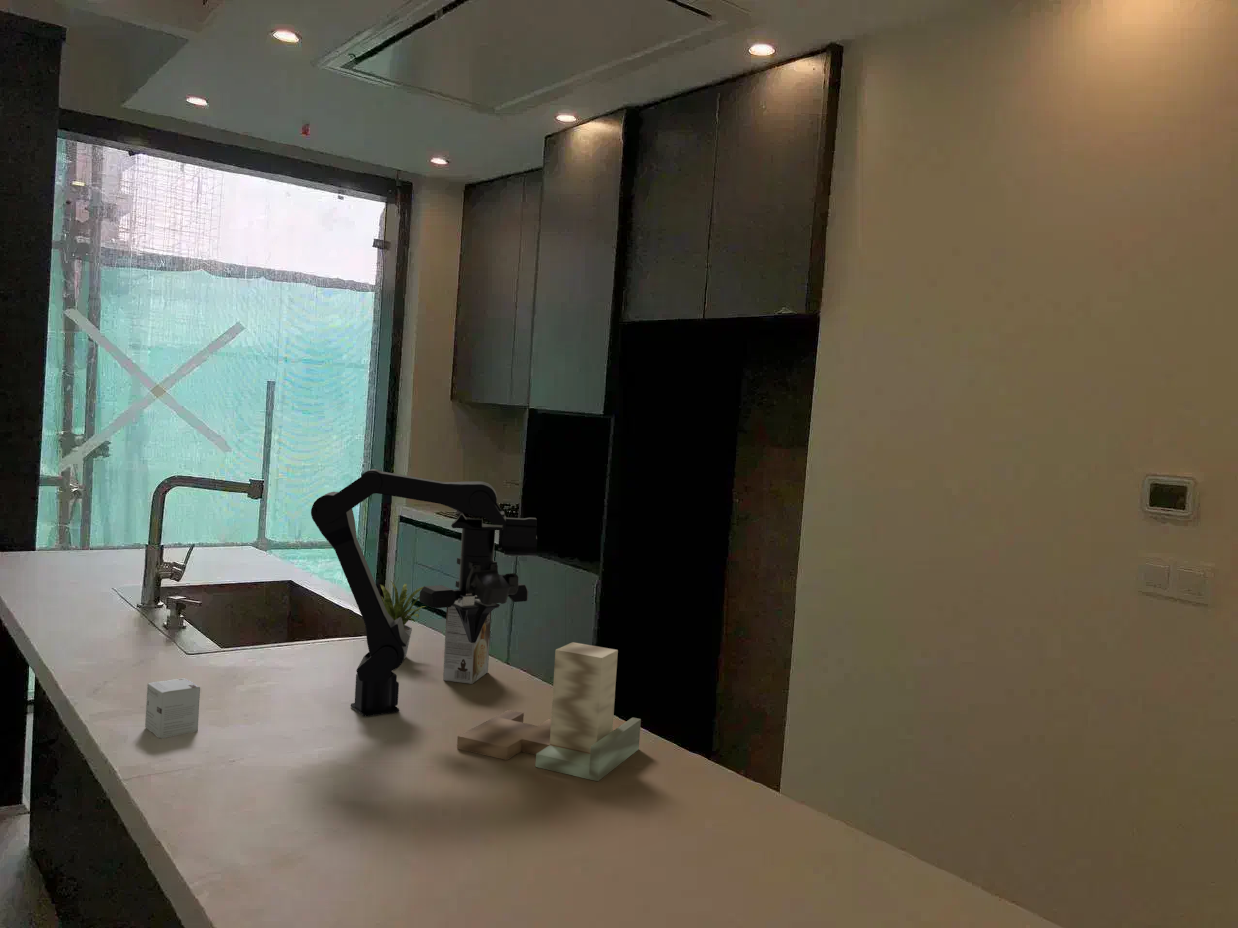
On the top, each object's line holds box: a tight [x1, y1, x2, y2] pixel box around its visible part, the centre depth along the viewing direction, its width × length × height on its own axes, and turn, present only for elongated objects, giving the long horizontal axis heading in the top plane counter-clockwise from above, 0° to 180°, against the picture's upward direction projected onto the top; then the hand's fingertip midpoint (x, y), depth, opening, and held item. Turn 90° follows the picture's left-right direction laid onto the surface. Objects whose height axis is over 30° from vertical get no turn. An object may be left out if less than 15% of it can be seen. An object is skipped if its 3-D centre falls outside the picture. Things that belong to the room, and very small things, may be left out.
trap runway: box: [456, 709, 642, 782], centre depth 156 cm, size 24×16×5 cm, turn 67°
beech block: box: [550, 641, 619, 753], centre depth 154 cm, size 8×6×15 cm
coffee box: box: [442, 594, 492, 685], centre depth 193 cm, size 9×6×16 cm
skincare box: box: [144, 677, 201, 739], centre depth 154 cm, size 6×6×7 cm
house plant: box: [379, 579, 427, 660], centre depth 204 cm, size 14×14×16 cm
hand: (472, 642), depth 171 cm, fingers closed
